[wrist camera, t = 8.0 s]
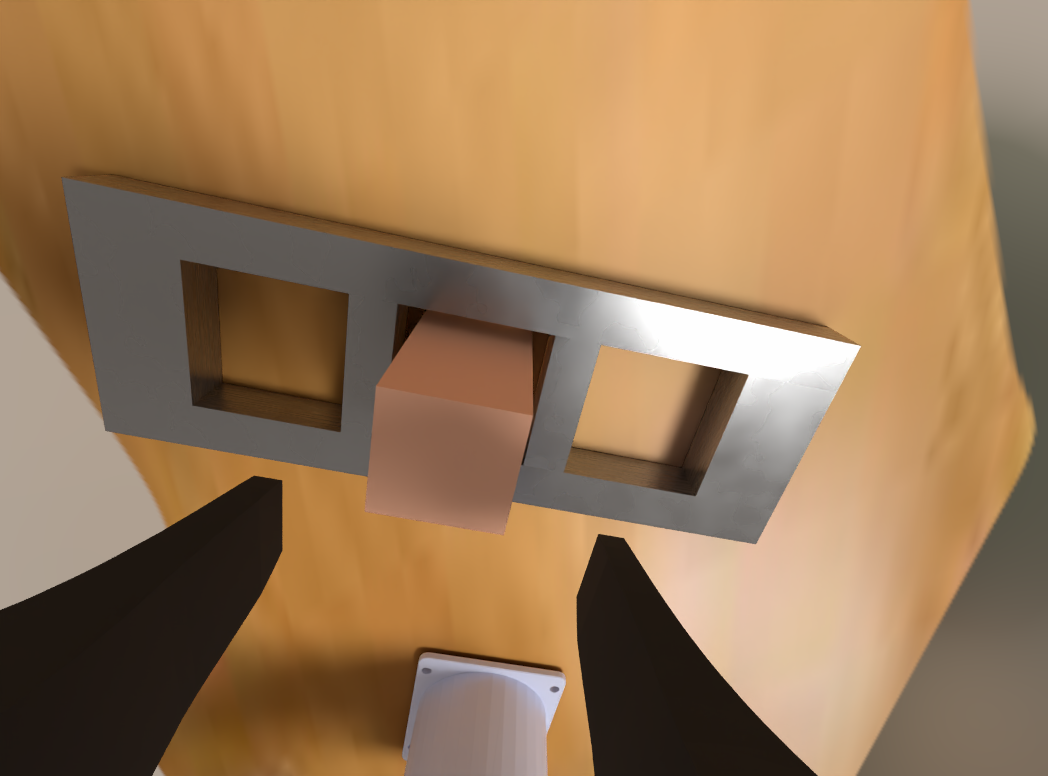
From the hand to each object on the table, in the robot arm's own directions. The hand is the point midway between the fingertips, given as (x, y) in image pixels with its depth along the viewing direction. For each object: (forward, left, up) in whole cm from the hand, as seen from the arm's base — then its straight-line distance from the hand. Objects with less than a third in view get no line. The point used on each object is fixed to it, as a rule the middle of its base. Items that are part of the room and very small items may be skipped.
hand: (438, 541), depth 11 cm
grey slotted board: (0, 0, -9) cm, 9 cm away
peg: (0, 0, -9) cm, 9 cm away
